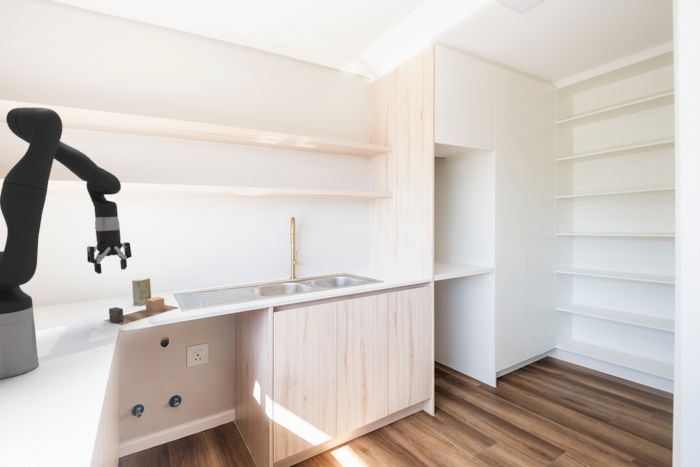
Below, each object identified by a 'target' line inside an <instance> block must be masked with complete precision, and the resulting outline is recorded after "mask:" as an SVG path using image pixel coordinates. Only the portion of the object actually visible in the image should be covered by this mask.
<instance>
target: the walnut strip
mask: <svg viewBox="0 0 700 467" xmlns="http://www.w3.org/2000/svg"><path fill="white" fill-rule="evenodd" d="M164 305H165V310H161V311H158V312H155V313H152V312H147V311H146V308H144V309H141V310H138V311H133V312H130V313H127V314H124V310H123V308H121V307H116V306H115V307H111V308H108V314H109V318H107V319H104V322H108V323H111V324H117V325H119V326H123V325H127V324H131V323H133V322H137V321H140V320H144V319H146V318H149V317H154V316H157V315H160V314H164V313H167V312H171V311H173V310H174V311H175V310H177V309H179V307H177V306H172V305H167V304H164Z"/></svg>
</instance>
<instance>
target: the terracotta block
mask: <svg viewBox="0 0 700 467" xmlns="http://www.w3.org/2000/svg"><path fill="white" fill-rule="evenodd" d="M145 301H146V304H145V309H146V311H147V312H152V313H155V312H158V311H161V310H165V305H166V304H165V298H164V297H161V296H160V297H159V296H154V297H151V298H150V299H146V300H145Z"/></svg>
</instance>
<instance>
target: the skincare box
mask: <svg viewBox="0 0 700 467" xmlns="http://www.w3.org/2000/svg"><path fill="white" fill-rule="evenodd" d="M131 284H132V285H131V286H132V298H133V299H132V300H133V301H132V304H133V306H135V307H142V306H144V305H145V306H146V301H145V300H146V299H150V298H152V292H151V291H152V289H151V288H152V287H151V278H150V277H141V278H137V279H134V280H133V279H132V281H131Z"/></svg>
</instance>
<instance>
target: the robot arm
mask: <svg viewBox="0 0 700 467" xmlns="http://www.w3.org/2000/svg"><path fill="white" fill-rule="evenodd" d="M5 120H6V123H7V126H8V128H9V129H10V131H11V132H12V133H13V134H14V136H16V137H18V138H20V139H21V140H22V141H24V142H26V143H27V144H28V148H27V150H26V152H25V153H24V155H22V157H21V158H20V160H19V161H17V163H16V164H14V165H13V167H12V168H11V169H10V170H9V172H8V173H6V176H5V178H4V179H3V182H2V186H1V191H0V210H1V214H2V216H3V219H4V222H5V226H6V230H7V232H6V233H7V234H6V240H5V244H4V245H5V246H4V249H3V251H1V250H0V380H1V379H4V378H9V377H14V376H19V375H23V374H24V373H27V372H30V371H33V370H34V369H36V368H37V367H38V366H39V356H38V355H39V354H38V345H37V334H36V325H35V317H34V316H35V314H34V306H33V304H34V303H33V298H32V296H30V295H29V294H27V293H26V292H24V291H23V289H22V288H21V287H20V286H23V285H25V284H27V283H29V281H31V280H32V279H33V278H34V276H35V273H36V272H37V271H36V270H37V268H38V254H39V253H38V250H39V238H40V237H39V236H40V230H41V224H42V217H43V212H44V207H45V203H46V198H47V195H48V194H47V193H48V185H49V181H50V175H51V172H52V167H53V163H54V160H55V161H57V162H59V163H60V164H61V165H63V166H64V167H66V168H67V170H69V171H70V172H72V174H74V175H75V176H76V177H78V178H79V179H80V180H82V181H83V182H86V184H85V185H86V186H85V187H86V190H87V193H88V196H89V197H90V200H91V203H92V205H93V207H94V218H95V220H94V229H95V237H96V246H90V245H89V246H87V248H86V252H87V253H86V254H87V258H86V259H87V263H89V264H90V263H91V264H93V266H94V267H93V268H94V273H96V274H98V275H101V274H102V264H101V263H102V261H103V259H105V257H111V256H117V257H118V258H119V259H120V260H119V261H120V270H126V269H127V267H128V265H127V264H128V263H127V262H128V261H127V260H128V259H129V258H132V249H131V248H132V247H131V243H130V242H127V241H126V242H121V229H120V228H121V226H120V221H119V216H118V215H119V214H118V206H117V205H118V204H117V203H116V202H115V201H112V200H107V198H106V196H105V195H107V196H108V195H110V196H111V195H117V194H118V193H120V191H121V188H122V184H121V181H120V180H119V178H118V177H117V176H116V175H114V173H111V172H109V171H107V170H106V169H104V168H102V167H100V166H99V165H97V164H96V163H95V162H94V161H93V160H92V159H91V158H90V157H89V156H88V155H87V154H85V153H83V152H81V151H80V150H78V149H76V148H74V147H72V146H70V145H68V144H67V143H65V142H63V141H61V138H62V134H63V121H62V119H61V116H60V115H59V114H58V112H56V111H55V110H53V109H51V108H47V107H24V106H23V107H16V108H12V109H11V110H9V111H8V112H7V114H6V119H5ZM122 248H123V250H124V251H122V250H121V249H122ZM96 251H98V253H97V254H96V255H95V253H96Z"/></svg>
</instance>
